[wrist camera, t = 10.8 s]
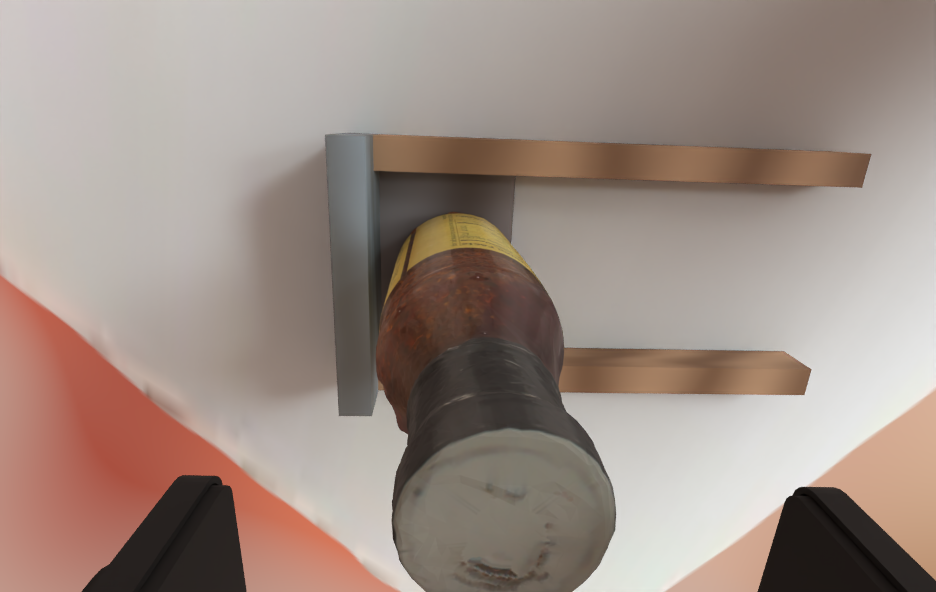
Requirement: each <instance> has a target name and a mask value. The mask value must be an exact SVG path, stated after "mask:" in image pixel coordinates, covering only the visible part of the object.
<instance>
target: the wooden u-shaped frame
mask: <svg viewBox="0 0 936 592" xmlns="http://www.w3.org/2000/svg"><path fill="white" fill-rule="evenodd" d="M325 142H326V163H327V183H328V203H329V224H330V244H331V264H332V284H333V305H334V325H335V345H336V366H337V386H338V406H339V416H372V413H373V409H374V405H375V401H376V397H377V393H378V390H384V388H383V385H382V384H381V382H380V381H379V380H378V377H377V372H376V346H377V341H378V337H379V326H380V318H381V314H382V310H383V307H384V303H385V299H386V296H387V292H388V289H389V285H390V282H391V278H392V274H393V271H394V267H395V263H396V260H397V257H398V255H399V252H400V249H401V247H402V246H403V244H404V242H405V241H406V239H407V238H408V237H409V235H410V234H411V233H412V231H413V230H414V229H415V228H417V227H418V226H420V225H421V224H423V223H424V222H426V221H428V220H430V219H432V218H435V217H437V216H440V215H445V214H448V213H449V212H458V213H464V214H469V215H474V216H477V217H480V218H484V219H485V220H487V221H488V222H490V223H491V224H493V225H494V226H495V227H496V228H498V229H499V230H500V231H501V233H502V234H503V235H504V236H505V237H506V238H507V240H508V241H509V242H510V244H511V235H512V219H513V204H514V189H515V176H541V177H570V178H599V179H628V180H657V181H686V182H716V183H745V184H774V185H803V186H832V187H861V188H862V186H863V182H864V179H865V175H866V171H867V168H868V164H869V161H870V157H871V154H863V153H848V152H831V151H804V150H778V149H752V148H726V147H699V146H673V145H647V144H621V143H594V142H568V141H542V140H516V139H489V138H463V137H437V136H411V135H384V134H358V133H342V134H328V135H325ZM810 373H811V369H810V368H808V367H807V366H805V365H804V364H802V363H801V362H799V361H798V360H796V359H795V358H793V357H792V356H790V355H789V354H787V353H786V352H784V351H723V350H661V349H599V348H564V359H563V367H562V371H561V374H560V378H559V391H560V392H584V393H671V394H757V395H804V394H805V391H806V387H807V384H808V380H809V376H810Z"/></svg>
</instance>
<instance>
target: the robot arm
mask: <svg viewBox="0 0 936 592" xmlns="http://www.w3.org/2000/svg"><path fill="white" fill-rule="evenodd" d="M82 592H246V585H245V578H244V571H243V563H242V557H241V549H240V543H239V536H238V528H237V522H236V515H235V508H234V501H233V493H232V489H231V487H230V486H226V485H222V481H221V479H220V478H219V477H218V476H194V475H193V476H192V475H182V476H180V477H178V478H177V479H176V480H175V481H174V482H173V484H172V485H171V486H170V487H169V489H168V490H167V491H166V492H165V494H164V495H163V496H162V498H161V499H160V500H159V501H158V503H157V504H156V505H155V507H154V508H153V509H152V510H151V512H150V513H149V514H148V516H147V517H146V518H145V519H144V521H143V522H142V523H141V525H140V526H139V527H138V528H137V530H136V531H135V532H134V534H133V535H132V536H131V537H130V539H129V540H128V541H127V542H126V544H125V545H124V546H123V548H122V549H121V550H120V552H119V553H118V554H117V555H116V557H115V558H114V559H113V561H112V562H111V563H110V564H109V565H107V566H106V567H104V568H102V569H101V570H100V571H99V572H98V573H97V574H96V575H95V576H94V577H93V578H92V580H91V581H90V582H89V583H88V584H87V586H86V587H85V588H84V589H83V591H82ZM758 592H936V581H935V580H934V579H933V578H932V577H931V576H930V575H929V574H928V573H927V572H926V571H925V570H924V569H923V568H922V567H921V566H920V565H919V564H918V563H917V562H916V561H915V560H914V559H913V558H911V556H910V555H909V554H908V553H907V552H905V551H904V550H903V549H902V548H901V547H900V546H899V545H898V544H897V543H896V542H895V541H894V540H893V539H892V538H891V537H890V536H889V535H888V534H887V533H886V532H885V531H883V529H882V528H881V527H880V526H879V525H878V524H877V523H876V522H875V521H874V520H873V519H871V518H870V517H869V516H868V515H867V514H866V513H865V512H864V511H863V510H862V509H861V508H860V507H859V506H858V505H857V504H856V503H855V502H854V501H853V500H852V499H851V498H850V497H849V496H848V495H847V494H846V493H844V492H843V491H842V490H840V489H837V488H834V487H800V488H798V489H796V490H795V492H794V494H793V496H789V497H788V498H787V499H786V501H785V503H784V506H783V510H782V513H781V516H780V520H779V523H778V526H777V529H776V533H775V536H774V539H773V543H772V546H771V549H770V553H769V556H768V559H767V563H766V566H765V569H764V572H763V576H762V579H761V583H760V586H759V589H758Z"/></svg>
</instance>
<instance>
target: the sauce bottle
mask: <svg viewBox="0 0 936 592" xmlns="http://www.w3.org/2000/svg"><path fill="white" fill-rule="evenodd" d="M563 359H564V340H563V332H562V327H561V324H560V320H559V317H558V314H557V311H556V309H555V307H554V305H553V302H552V300H551V298H550V297H549V295H548V293H547V292H546V290H545V289H544V287H543V285H542V284H541V282H540V281H539V279H538V278H537V277H536V275H535V274H534V272H533V271H532V270H531V268H530V267H529V266H528V265H527V263H526V262H525V261H524V260H523V258H522V257H521V256H520V255H519V253H518V252H517V251H516V250H515V249H514V248H513V246H512V245H511V244H510V242H509V241H508V240H507V238H506V237H505V236H504V235H503V234H502V233H501V231H500V230H499V229H498V228H496V227H495V226H494V225H493V224H491V223H490V222H488V221H487V220H485V219H484V218H480V217H477V216H474V215H469V214H464V213H458V212H449V213H448V214H445V215H440V216H437V217H435V218H432V219H430V220H428V221H426V222H424V223H423V224H421V225H420V226H418V227H417V228H415V229H414V230H413V231H412V233H411V234H410V235H409V237H408V238H407V239H406V241H405V242H404V244H403V246H402V247H401V249H400V252H399V255H398V257H397V260H396V263H395V267H394V271H393V274H392V278H391V282H390V285H389V289H388V292H387V296H386V299H385V303H384V307H383V310H382V314H381V318H380V326H379V337H378V341H377V346H376V372H377V377H378V380H379V381H380V382H381V384H382V385H383V388H384V392H385V395H386V398H387V399H388V401H389V402H390V404H391V405H392V407H393V409H394V411H395V414H396V419H397V423H398V427H399V429H400V430H401V431H403V432H405V433H407V434H408V440H407V445H408V446H407V447H406V449H405V452H404V454H403V457H402V459H401V463H400V464H399V466H398V469H397V471H396V477H395V484H394V492H393V500H392V509H393V512H392V530H393V540H394V543H395V546H396V549H397V551H398V555H399V560H400V562H401V564H402V565H403V567H404V568H405V570H406V571H407V572H408V574H409V575H410V577H411V578H412V579H413V580H414V581H415V582H416V583H417V584H418V585H419V586H420V587H421V588H423V589H424V590H425V591H426V592H572V591H574V590H575V589H576V588H577V587H579V586H580V585H581V584H583V583H584V582H585V581H586V580H587V579H588V578H589V577H590V575H591V574H592V573H593V572H594V571H595V570H596V569H597V567H598V566H599V564H600V562H601V560H602V558H603V556H604V554H605V552H606V550H607V548H608V545H609V543H610V540H611V538H612V536H613V533H614V531H615V521H616V506H615V498H614V492H613V487H612V484H611V482H610V479H609V477H608V475H607V473H606V471H605V469H604V466H603V464H602V461H601V459H600V456H599V454H598V452H597V450H596V448H595V446H594V443H593V441H592V440H591V438H590V437H589V435H588V434H587V433H586V431H585V430H584V429H583V428H582V426H581V425H580V424H579V423H578V422H577V421H576V420H575V419H574V418H573V417H572V416H571V415H569V414H568V413H567V412H566V410H565V408H564V405H563V404H562V399H561V394H560V391H559V378H560V374H561V371H562V367H563Z"/></svg>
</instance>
